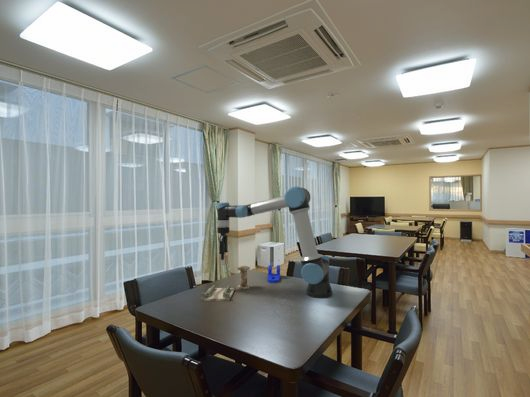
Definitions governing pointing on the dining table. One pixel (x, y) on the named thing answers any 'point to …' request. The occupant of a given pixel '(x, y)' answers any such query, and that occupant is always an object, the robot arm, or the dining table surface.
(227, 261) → the tab
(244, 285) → the bobbin
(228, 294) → the board
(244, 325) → the dining table surface
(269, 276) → the bracket
